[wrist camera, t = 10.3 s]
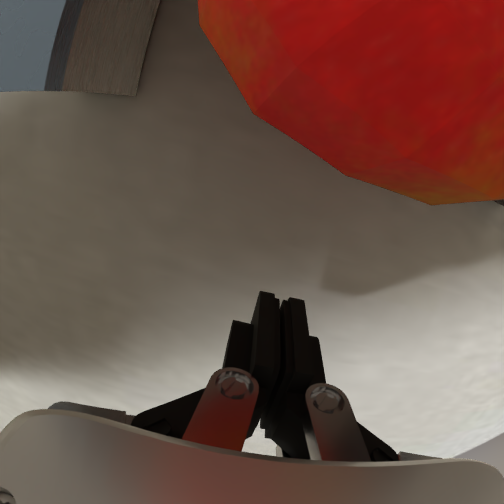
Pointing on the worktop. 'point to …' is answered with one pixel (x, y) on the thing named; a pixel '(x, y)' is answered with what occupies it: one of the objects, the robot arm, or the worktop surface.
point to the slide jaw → (74, 44)
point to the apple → (377, 86)
